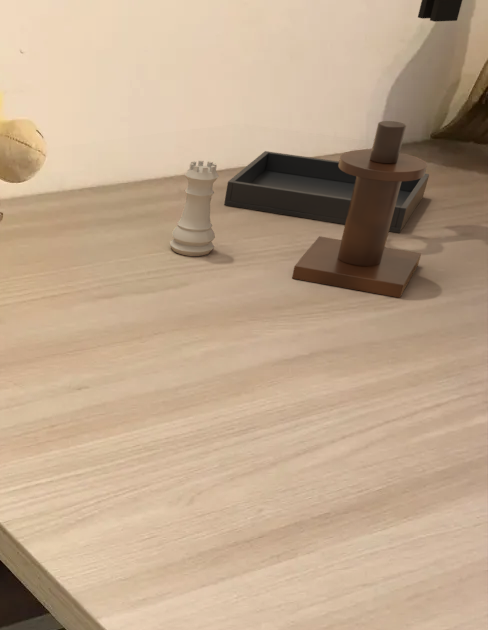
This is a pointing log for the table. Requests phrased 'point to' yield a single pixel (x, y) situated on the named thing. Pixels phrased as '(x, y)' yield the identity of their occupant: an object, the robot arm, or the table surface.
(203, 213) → the rook chess piece
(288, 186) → the tray
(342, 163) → the peg stand
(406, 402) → the table surface
